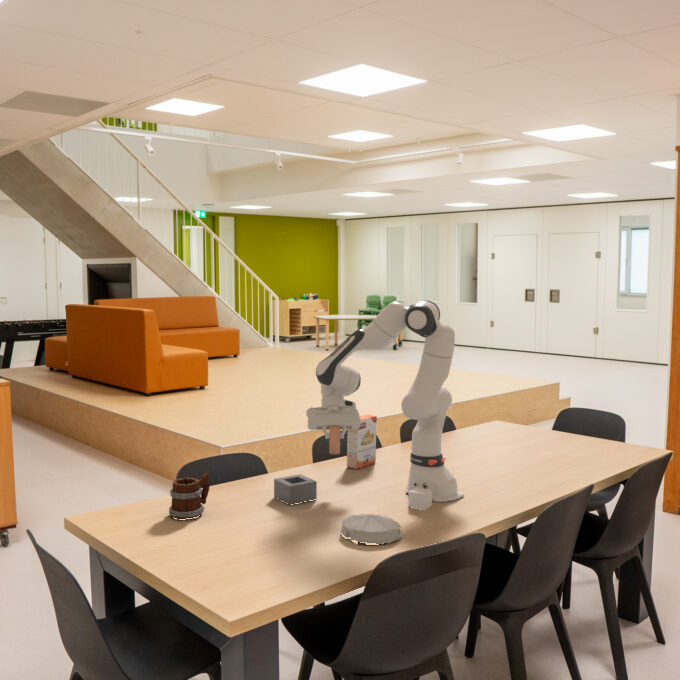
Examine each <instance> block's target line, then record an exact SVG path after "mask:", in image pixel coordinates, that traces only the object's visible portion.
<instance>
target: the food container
mask: <svg viewBox="0 0 680 680" xmlns="http://www.w3.org/2000/svg"><path fill="white" fill-rule="evenodd" d="M340 524H341V530H342V531H341V530H340V532H342V534H343V535H344V536H345V537H347V538H348V537H350V538H351V540H356V541H358V542H364V543H365V542H367V543H376V544H382V545H383V543H388V544H391V543H392V542H396V541H398V540H400V539H401V538H402V537H403V532H402V531H401V529H402V526H401V524H400V523H399V522H397V520H394V519H393V518H391V517H388V516H385V515H381V514H374V513H366V514H365V513H359V514H353V515H349V516H347V517H345V518H344V519H342V520H341V523H340Z"/></svg>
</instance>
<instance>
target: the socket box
mask: <svg viewBox="0 0 680 680" xmlns="http://www.w3.org/2000/svg"><path fill="white" fill-rule="evenodd" d="M317 491H318V490H317V481H316V480H314V479H311V478H310V477H308V476H306V475H303V474H301V473H299V474H298V473H297V474H294V475H289V476H283V477H282V476H281V477H278V478H274V479H273V498H274V497H276V498H278V499H280V500H282V501H284V502H286V503H288V504H289V505H291V504H295V503H300V502H304V501H309V500H314V499H317ZM276 498H275V499H276ZM278 499H277V500H278ZM280 500H279V501H280ZM317 500H318V499H317ZM289 505H288V506H289Z"/></svg>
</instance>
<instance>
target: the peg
mask: <svg viewBox="0 0 680 680" xmlns="http://www.w3.org/2000/svg"><path fill="white" fill-rule="evenodd" d="M328 431H329V432H328V433H330V439H329V442H328V443H329V447H328V448H329V454H330V455H339V454H341V439H340V433H341V429H340V426H330V427H329V430H328Z"/></svg>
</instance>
